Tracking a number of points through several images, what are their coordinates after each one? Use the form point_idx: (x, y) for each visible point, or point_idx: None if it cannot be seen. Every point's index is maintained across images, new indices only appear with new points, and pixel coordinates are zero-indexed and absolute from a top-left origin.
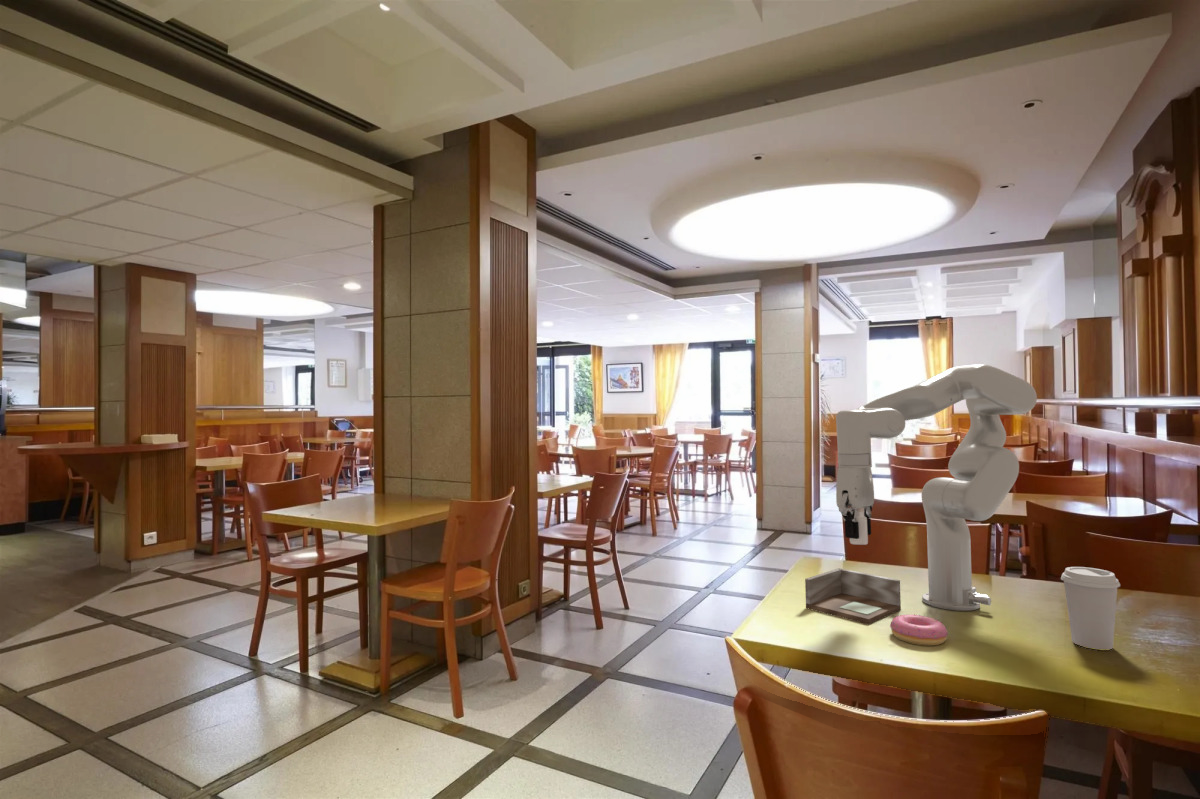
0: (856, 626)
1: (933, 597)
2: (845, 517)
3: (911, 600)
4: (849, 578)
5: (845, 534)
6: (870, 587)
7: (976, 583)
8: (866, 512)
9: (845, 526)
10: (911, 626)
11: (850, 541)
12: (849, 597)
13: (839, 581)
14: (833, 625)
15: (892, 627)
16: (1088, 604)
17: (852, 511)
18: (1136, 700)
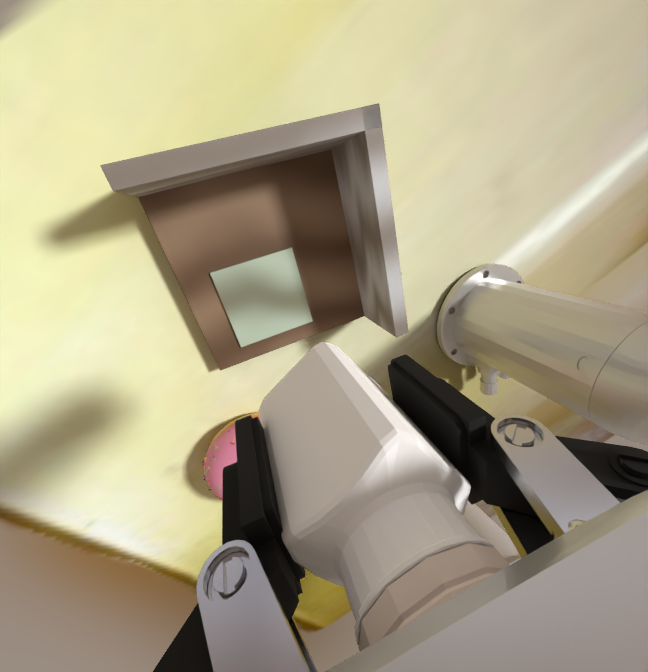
0: (180, 366)
1: (460, 313)
2: (173, 669)
3: (445, 265)
4: (359, 176)
5: (235, 430)
6: (365, 251)
7: (629, 234)
8: (517, 535)
9: (240, 480)
10: (220, 494)
11: (260, 410)
12: (315, 203)
13: (336, 143)
14: (120, 344)
15: (208, 452)
16: None
17: (358, 639)
18: (315, 610)
